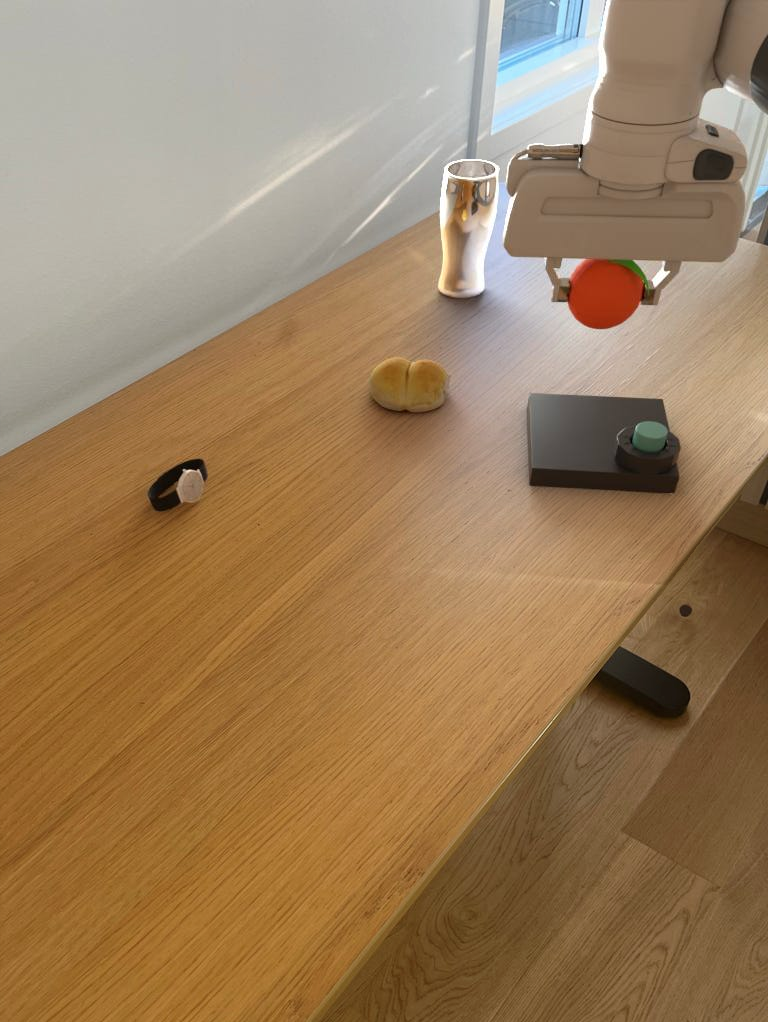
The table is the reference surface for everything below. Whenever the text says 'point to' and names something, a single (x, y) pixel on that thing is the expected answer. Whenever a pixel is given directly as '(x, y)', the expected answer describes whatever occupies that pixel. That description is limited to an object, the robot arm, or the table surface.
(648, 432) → the button
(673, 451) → the black push button box
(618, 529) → the table surface
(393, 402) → the bread roll
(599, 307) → the clementine
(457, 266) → the beer glass
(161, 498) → the watch
